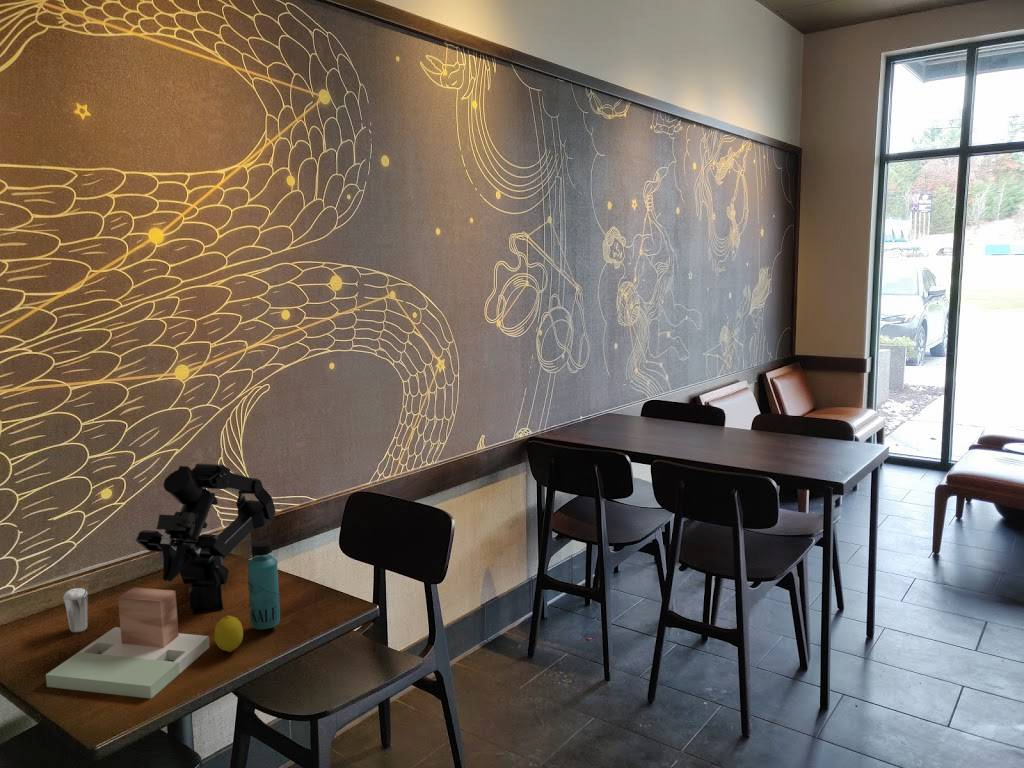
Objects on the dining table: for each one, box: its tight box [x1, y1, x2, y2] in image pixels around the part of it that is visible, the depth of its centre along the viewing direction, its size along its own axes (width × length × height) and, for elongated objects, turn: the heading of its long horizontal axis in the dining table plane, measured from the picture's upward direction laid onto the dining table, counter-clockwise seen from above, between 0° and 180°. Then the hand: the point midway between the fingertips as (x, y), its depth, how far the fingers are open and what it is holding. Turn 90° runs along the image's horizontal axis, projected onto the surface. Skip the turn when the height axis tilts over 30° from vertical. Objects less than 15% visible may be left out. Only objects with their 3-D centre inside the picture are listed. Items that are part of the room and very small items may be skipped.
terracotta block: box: [117, 586, 180, 648], centre depth 155 cm, size 5×10×10 cm, turn 80°
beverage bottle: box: [246, 540, 282, 630], centre depth 163 cm, size 6×7×20 cm
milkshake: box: [63, 586, 89, 633], centre depth 164 cm, size 5×5×10 cm
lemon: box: [214, 615, 244, 653], centre depth 155 cm, size 6×6×8 cm
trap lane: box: [45, 626, 211, 700], centre depth 150 cm, size 19×22×2 cm
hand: (166, 580), depth 160 cm, fingers closed
